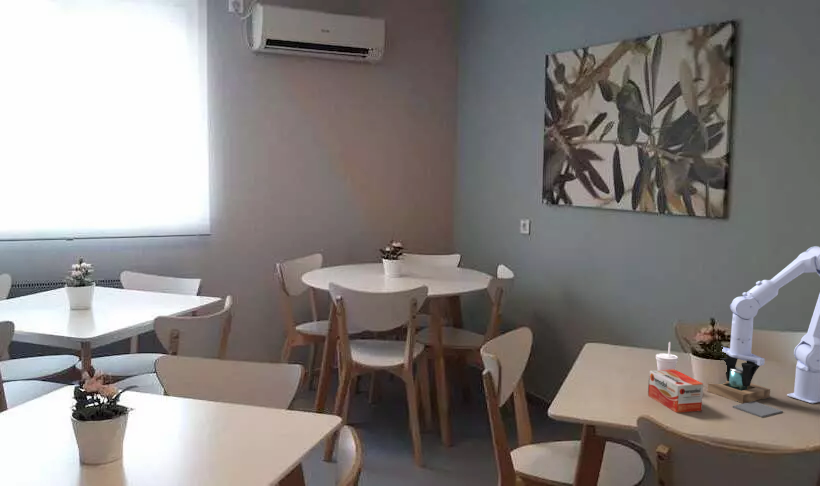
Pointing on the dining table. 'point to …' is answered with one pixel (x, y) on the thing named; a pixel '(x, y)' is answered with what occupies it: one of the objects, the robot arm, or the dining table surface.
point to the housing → (740, 392)
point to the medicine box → (675, 390)
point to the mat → (757, 409)
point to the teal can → (736, 378)
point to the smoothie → (666, 360)
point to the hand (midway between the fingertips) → (738, 383)
